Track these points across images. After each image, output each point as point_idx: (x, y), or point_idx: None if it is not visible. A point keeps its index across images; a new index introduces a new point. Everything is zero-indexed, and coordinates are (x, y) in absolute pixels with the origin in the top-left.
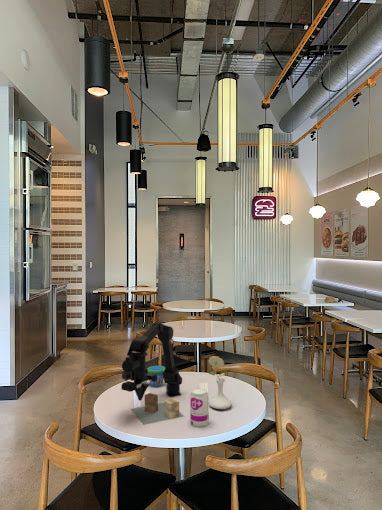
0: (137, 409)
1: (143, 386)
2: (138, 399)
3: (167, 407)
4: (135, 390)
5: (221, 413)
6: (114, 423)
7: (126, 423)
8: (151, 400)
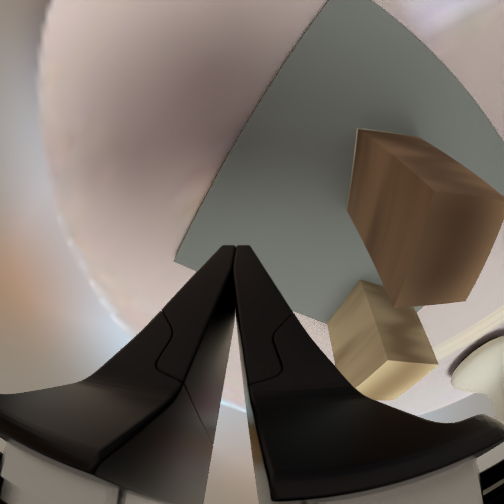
0: (366, 40)
1: (259, 497)
2: (217, 252)
3: (354, 352)
4: (115, 379)
5: (434, 379)
6: (72, 78)
7: (122, 140)
8: (386, 268)
